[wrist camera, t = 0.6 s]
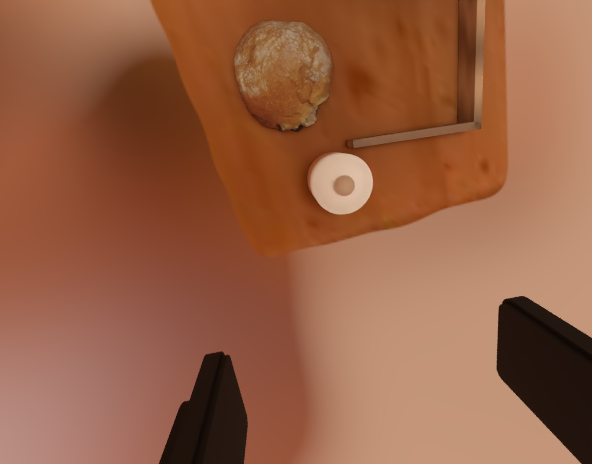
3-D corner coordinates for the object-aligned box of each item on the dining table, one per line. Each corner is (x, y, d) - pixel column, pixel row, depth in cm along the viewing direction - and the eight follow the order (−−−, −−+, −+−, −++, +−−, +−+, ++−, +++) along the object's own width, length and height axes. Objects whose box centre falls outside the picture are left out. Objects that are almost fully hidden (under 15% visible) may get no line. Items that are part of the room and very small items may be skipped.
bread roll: (323, 54, 35) (334, -11, 27) (333, 136, 33) (347, 93, 26) (238, 59, 35) (224, -5, 27) (244, 143, 33) (230, 100, 25)
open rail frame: (332, -13, 30) (338, -29, 27) (467, -32, 30) (487, -50, 27) (347, 147, 35) (353, 148, 32) (464, 129, 35) (481, 128, 32)
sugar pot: (303, 156, 35) (310, 159, 27) (355, 148, 35) (375, 149, 27) (310, 206, 36) (319, 222, 29) (359, 199, 36) (379, 213, 29)
